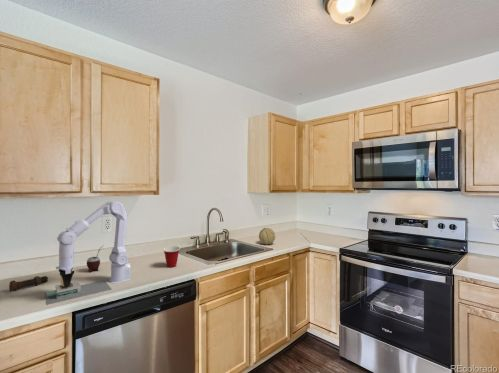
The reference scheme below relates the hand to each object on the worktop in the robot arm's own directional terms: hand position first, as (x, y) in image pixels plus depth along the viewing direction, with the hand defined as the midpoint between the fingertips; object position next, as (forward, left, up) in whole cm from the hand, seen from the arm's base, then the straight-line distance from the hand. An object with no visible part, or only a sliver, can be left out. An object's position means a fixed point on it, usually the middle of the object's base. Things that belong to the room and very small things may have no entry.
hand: (66, 284), depth 124 cm
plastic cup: (-57, -9, -5) cm, 58 cm away
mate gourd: (-17, -31, -5) cm, 36 cm away
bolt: (+13, -24, -5) cm, 28 cm away
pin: (0, 0, -4) cm, 4 cm away
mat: (-5, 0, -5) cm, 7 cm away
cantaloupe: (-149, -14, -5) cm, 150 cm away
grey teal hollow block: (+1, 0, -4) cm, 5 cm away
